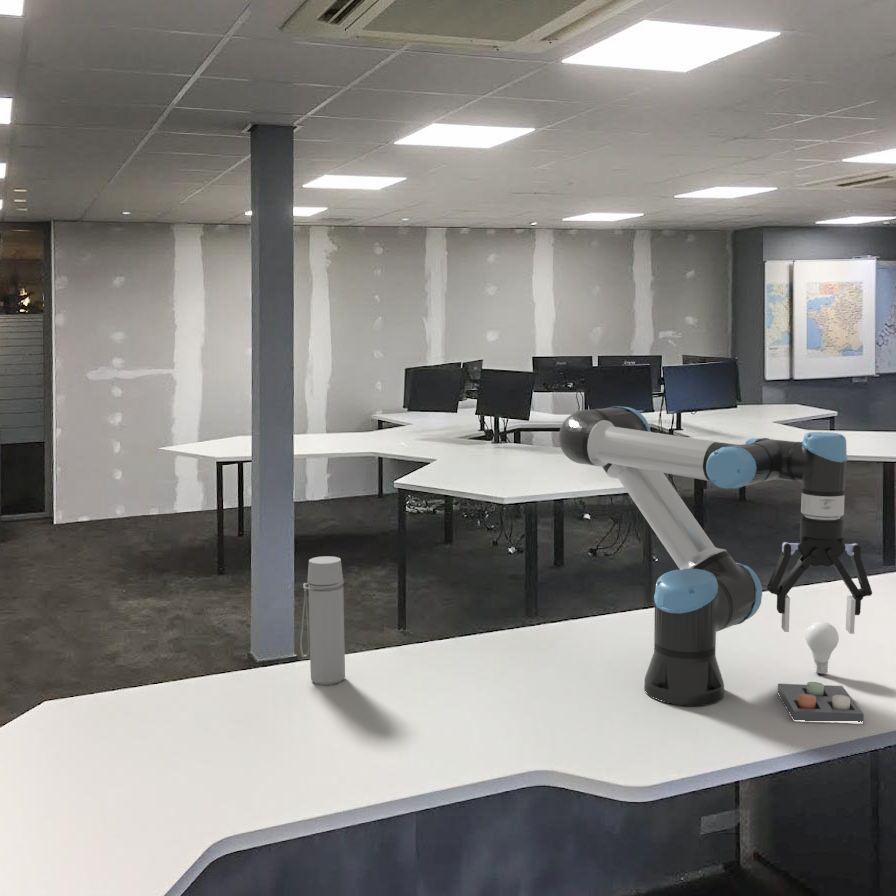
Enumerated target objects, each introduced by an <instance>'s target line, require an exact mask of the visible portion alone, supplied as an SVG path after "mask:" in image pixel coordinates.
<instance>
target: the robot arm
mask: <svg viewBox="0 0 896 896" xmlns="http://www.w3.org/2000/svg"><path fill="white" fill-rule="evenodd" d="M802 439H803V440H802V441H791V440H782V439H781V440H780V439H772V438H771V439H770V438H769V437H763V438H762V437H761V438H754V437H752V438H748V439H747V440H746V441H745V442H744V443H743V444H733V443H726V442H720V441H714V440H708V439H707V440H706V439H700V438H695V437H694V438H693V437H686V436H679V435H675V434H666V433H658V432H654V431H651V428H650V424H649V422H648V420H647V418H645V416H644V415H643V414H642V413H641V412H640V411H638V410H637V409H634V408H632V407H627V406H619V405H614V406H609V407H606V408H605V407H604V408H592V409H581V410H579V411H576V412H573V413H572V414H570V415H569V416H568V417H566V418H565V420H564V421H563V422H562V425H561V426H560V429H559V431H558V442H559V446H560V449H561V451H562V453H563V454H564V456H565V457H566V458H568V459H569V460H570V461H572V462H574V463H577V464H581V465H589V466H595V467H601V468H602V469H603V470H604V472H605V474H606V475H607V476H608V477H609V478H612V479H618V480H619V481H620V483H621V484H622V486H623V488H624V489H625V491H626V492H627V494H628V495H629V497H630V498H631V499H632V501H633V502H634V504H635V505H636V507H637V508H638V509H639V511H640V513H641V514H642V516H643V517H644V518H645V520H646V522H647V523H648V525H649V526H650V527H651V528H652V530H653V531H654V533H655V535H656V537H657V538H658V539H659V541H660V543H661V544H662V546H664V549H665V550H666V551H667V553H668V554H669V555H670V557H671V558H672V560H673V561H674V563H675V564H676V566H677V568H678V569H673V570H671V571H667V572H665V573H663V574H661V576H659V577H658V579H657V580H656V583H655V592H654V595H653V601H654V631H653V632H654V636H653V637H654V638H653V640H654V642H653V645H654V647H653V654H652V656H651V659H650V662H649V666H648V668H647V671H646V673H645V676H644V684H643V685H644V689H645V690H644V689H643V690H644V692H645V691H646V692H647V693H648V694H649V695H650V696H652V697H654V698H657V699H659V700H662V701H665V702H669V703H672V704H671V705H675V704H678V705H677V706H683V705H686V707H687V706H688V707H698V706H699V707H700V706H701V707H702V706H708V704H709V705H712V704H713V705H714V704H715V703H718V702H720V701H721V700H722V699H723V698H724V696H725V683H724V680H723V675H722V673H721V670H720V667H719V664H718V663H719V662H718V660H717V657H716V652H717V651H716V649H717V648H716V647H717V646H716V645H717V641H716V640H717V632H719V631H722V630H725V629H727V628H730V627H732V626H737V625H740V624H742V623H743V624H744V622H746V621H747V620H748V619H751V618H752V617H753V616H754V615H755V614H756V613H757V612H758V611H759V609H760V607H761V605H762V599H763V598H762V597H763V587H762V584H761V581H760V579H759V577H758V575H757V573H756V572H755V571H754V570H753V569H752V568H750V566H748V565H746V564H741V563H739V562H735V560H734V559H733V557H732V556H731V554H730V553H729V552H728V550H727V549H725V548H718V547H716V546H715V545H714V543H713V542H712V541H711V539H710V538H709V537H708V535H707V533H706V532H705V530H704V529H703V528H702V527H701V525H700V524H699V522H698V520H697V519H696V518H695V517H694V515H693V513H692V512H691V511H690V509H689V507H687V505H686V503H685V502H684V500H683V499H682V498H681V496H680V495H679V493H678V492H677V491H676V489H675V487H674V486H673V485H672V483H671V482H670V480H669V479H668V478H667V476H666V475H665V474H669V475H674V476H680V477H685V478H691V479H697V480H703V481H708V482H712V484H714V485H715V486H716V487H718V488H720V489H725V490H726V489H733V490H734V489H741V488H743V487H745V486H746V487H747V486H750V485H755V484H759V483H764V482H769V481H773V480H774V481H775V480H777V481H778V480H780V481H781V480H782V481H791V482H797V483H798V482H799V483H800V482H801V498H800V499H801V500H800V502H801V503H800V504H801V505H800V513H801V514H802V516H801V517H800V523H799V524H800V525H799V527H800V528H799V539H798V541H797V542H795V543H794V542H790V543H789V542H788V541H784V540H783V541H782V542H781V553H780V555H779V558H778V560H777V562H776V565H775V567H774V569H773V571H772V574H771V576H770V578H769V582H768V584H767V586H766V589H767V590H768V591H769V593H770V594H771V595H776V610H777V613H779V614H781V629H782V630H783V631H784V633H789V631H790V613H791V611H790V610H791V609H790V607H791V597H790V596H789V595H788V593H790V591H791V589H793V587H794V585H795V584H796V582H798V581H799V579H800V577H801V576H802V575H803V573H805V571H806V570H807V569H808V568H809V567H810V566H812V567H819V566H824V567H831V566H833V567H834V569H835V570H836V572H837V574H838V575H839V577H840V578H841V580H842V581H843V583H844V584H845V586H846V587H847V589H848V590H849V592H850V594H851V595H847V596H846V613H845V615H846V616H845V617H846V618H845V630H846V631H847V633H849V634H851V635H853V634H855V622H856V616H860V614H861V609H862V607H861V606H862V605H861V604H862V601H863V599H864V597H870V596H872V594H873V591H872V588H871V584H870V582H869V578H868V576H867V573H866V570H865V566H864V564H863V560H862V558H861V557H862V556H861V555H862V553H861V551H862V547H861V546H860V545H859V543H857V542H852V543H844V525H845V524H844V519H843V517H842V516H844V514H845V492H846V488H845V487H846V473H847V461H848V456H847V455H848V454H847V439H846V437H845V436H844V435H843V434H842V433H837V432H830V431H829V432H823V431H812V432H807V433H805V434H804V436H803V438H802ZM796 551H799V553H800V554H801V556H800V557H799V558H798V559H797V562H796V564H795V565H794V566H793V568H792V569H791V570H790V572H789V573H788V574H787V575H786V577H785V578H784V580H783V581H782V578H783V577H784V574H785V572H786V570H787V567H788V564H789V562H790V560H791V556H792V555H794V554H795V552H796ZM845 551H846V553H847V555H848V556H850V559H851V563H852V566H853V569H854V571H855V575H856V577H857V580H858V584H859V586H860V588H858V587H857V585H856V584H855V582H854V580H853V579H852V577H851V576H850V575H849V573H848V572H847V570H846V568H845V566H844V565H843V563H842V562H841V559H839V558H840V557H841V556H842V554H843V553H844V552H845ZM781 581H782V582H781ZM646 692H645V693H646ZM647 693H646V694H647ZM648 694H647V695H648ZM649 695H648V696H649ZM650 696H649V697H650ZM652 697H651V698H652ZM654 698H653V699H654ZM659 700H658V701H659ZM662 701H661V702H662ZM665 702H664V703H665ZM669 703H668V704H669Z"/></svg>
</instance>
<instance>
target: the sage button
mask: <svg viewBox="0 0 896 896" xmlns="http://www.w3.org/2000/svg"><path fill="white" fill-rule="evenodd" d="M806 685H807V694H811V695H814V696H823V695H824V685H825V684H823V683H821V682H817V681H809V682H807V683H806Z"/></svg>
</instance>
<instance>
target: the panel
mask: <svg viewBox="0 0 896 896" xmlns="http://www.w3.org/2000/svg"><path fill="white" fill-rule="evenodd" d="M823 685H824V695H823V696H815V697H816V709H803V708H798V698H799V695H800V694H807V684H799V683H798V684H797V683H795V684H793V683H777V694H778V693H779V695H780V697H781V699H782V700H781V699H780V700H781V702H782V701H783V702H784V704H785V705H784V704H783V705H784V707H785V706H786V707H787V709H788V711H789V712H790V714H791V716H792V717H793V719H794V720H805V721H858V722H860V721H861V722H862V721H863V722H864V720H865V719H864V716H865V714H864V712H863V711H862V709H860V707H859V706H858V705H857V703H856V701H854V700H853V698H852V696H851V695H850V694H849V692H848V691H847V690H846V689H845V687H844V686H843V685H828V684H826V685H825V684H823ZM779 695H778V696H779ZM834 695H844V696H847V697H849V698H850V710H833V709H832V697H833V696H834ZM780 697H779V698H780ZM783 702H782V703H783ZM786 707H785V708H786ZM787 709H786V710H787ZM788 711H787V712H788ZM789 712H788V713H789ZM790 714H789V715H790ZM791 716H790V717H791ZM793 719H792V720H793Z"/></svg>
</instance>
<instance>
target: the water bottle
mask: <svg viewBox="0 0 896 896" xmlns="http://www.w3.org/2000/svg"><path fill="white" fill-rule="evenodd" d="M343 576H344V575H343V567H342V560H341V558H340V557H337V556H329V555H328V556H327V555H326V556H325V555H324V556H317V557H316V556H315V557H312V558H310V559H308V570H307V582H304V583H303V584H302V587H303V592H304V596H303V606H302V617H301V618H302V619H301V629H300V640H299V646H300V647H299V648H300V654H301V657H303V658H306V657H308V655H309V654H310V655H309V656H310V658H309V660H310V664H309V666H310V680H311V681H312V683H315V684H317V685H324V686H328V685H330V686H331V685H334V684H335V685H336V684H339V683H341V682H342V681H343V680H344V679H345V678H346V657H345V655H346V654H345V653H346V651H345V649H346V648H345V612H344V611H345V608H344V607H345V606H344V604H345V603H344V602H345V601H344V581H345V580H344V577H343ZM307 591H308V597H307ZM305 614H306V616H304V615H305ZM304 617H306V635H307V636H306V637H307V653H306V654H304V652H303V644H302V641H303V629H304V619H305V618H304Z"/></svg>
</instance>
